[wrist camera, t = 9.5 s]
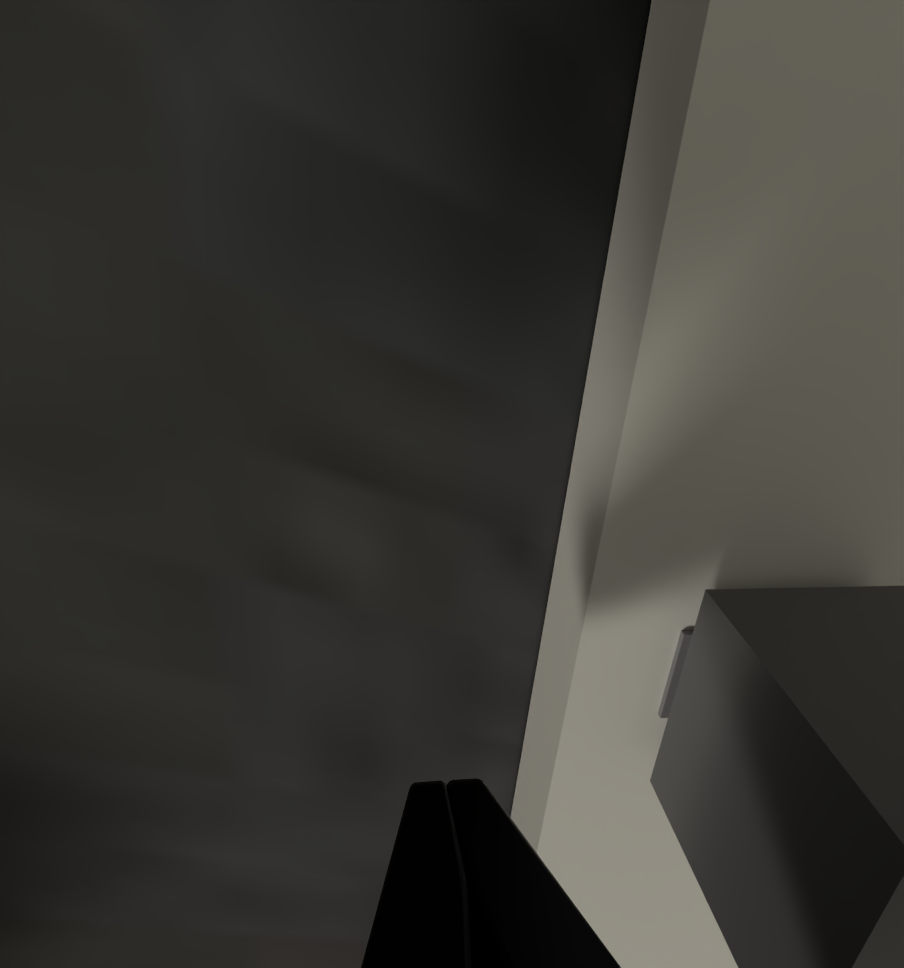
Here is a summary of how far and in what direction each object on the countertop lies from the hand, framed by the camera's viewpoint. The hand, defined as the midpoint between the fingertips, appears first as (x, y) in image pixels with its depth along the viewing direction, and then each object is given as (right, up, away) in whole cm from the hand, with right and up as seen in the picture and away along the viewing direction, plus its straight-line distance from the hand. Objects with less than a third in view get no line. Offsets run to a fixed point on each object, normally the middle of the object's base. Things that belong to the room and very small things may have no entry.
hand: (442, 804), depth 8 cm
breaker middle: (+5, +1, +2) cm, 5 cm away
